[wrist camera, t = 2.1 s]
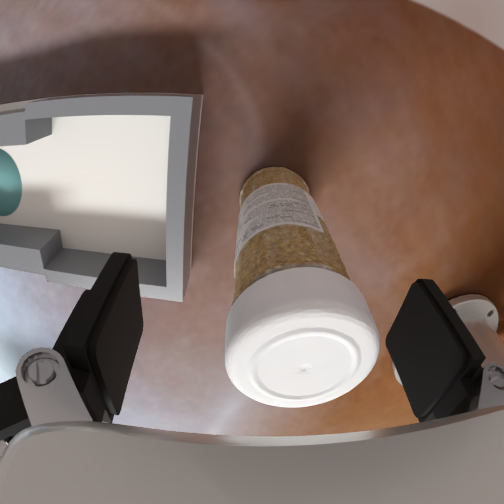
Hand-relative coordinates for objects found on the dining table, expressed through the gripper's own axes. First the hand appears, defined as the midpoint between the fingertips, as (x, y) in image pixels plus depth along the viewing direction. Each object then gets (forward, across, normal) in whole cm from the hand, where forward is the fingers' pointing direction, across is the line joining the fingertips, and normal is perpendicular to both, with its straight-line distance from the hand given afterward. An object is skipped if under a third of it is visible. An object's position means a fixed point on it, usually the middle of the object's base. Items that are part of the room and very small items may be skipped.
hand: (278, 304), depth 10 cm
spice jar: (+11, -1, +1) cm, 11 cm away
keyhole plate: (+11, +14, +1) cm, 18 cm away
